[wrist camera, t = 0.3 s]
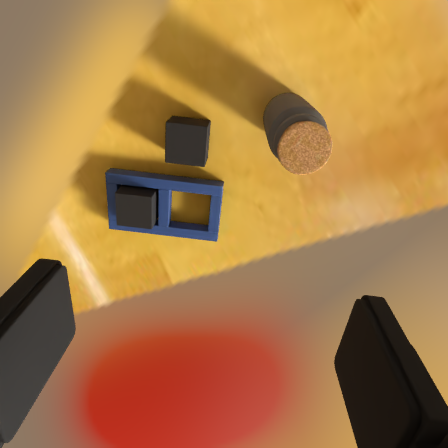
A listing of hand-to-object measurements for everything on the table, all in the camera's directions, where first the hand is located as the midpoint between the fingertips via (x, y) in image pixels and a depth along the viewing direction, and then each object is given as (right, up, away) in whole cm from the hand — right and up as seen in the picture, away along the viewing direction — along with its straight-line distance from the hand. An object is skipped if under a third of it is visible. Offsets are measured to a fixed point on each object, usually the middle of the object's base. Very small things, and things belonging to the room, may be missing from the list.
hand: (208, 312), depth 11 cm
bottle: (+8, +17, +31) cm, 36 cm away
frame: (-8, +6, +38) cm, 39 cm away
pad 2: (-4, +14, +33) cm, 36 cm away
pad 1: (-12, +6, +38) cm, 40 cm away
